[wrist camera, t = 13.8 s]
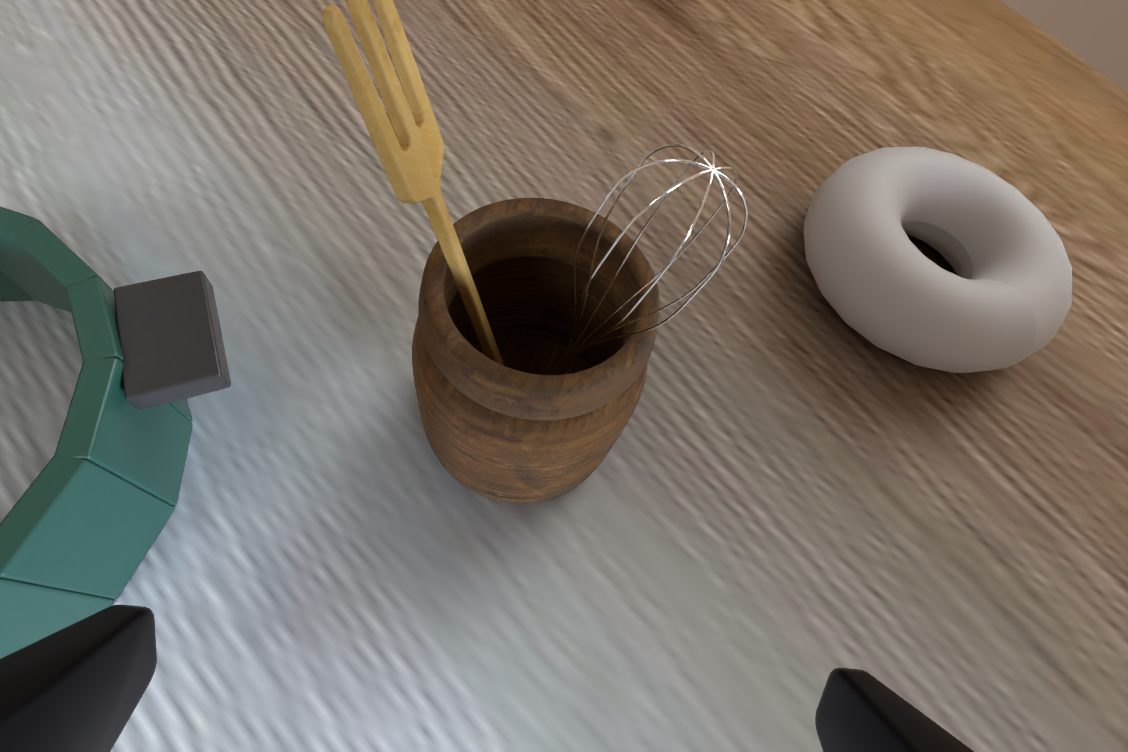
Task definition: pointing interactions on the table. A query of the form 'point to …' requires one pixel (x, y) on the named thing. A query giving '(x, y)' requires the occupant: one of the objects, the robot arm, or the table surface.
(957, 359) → the donut
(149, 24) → the table surface
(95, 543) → the pot
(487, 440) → the utensil holder
